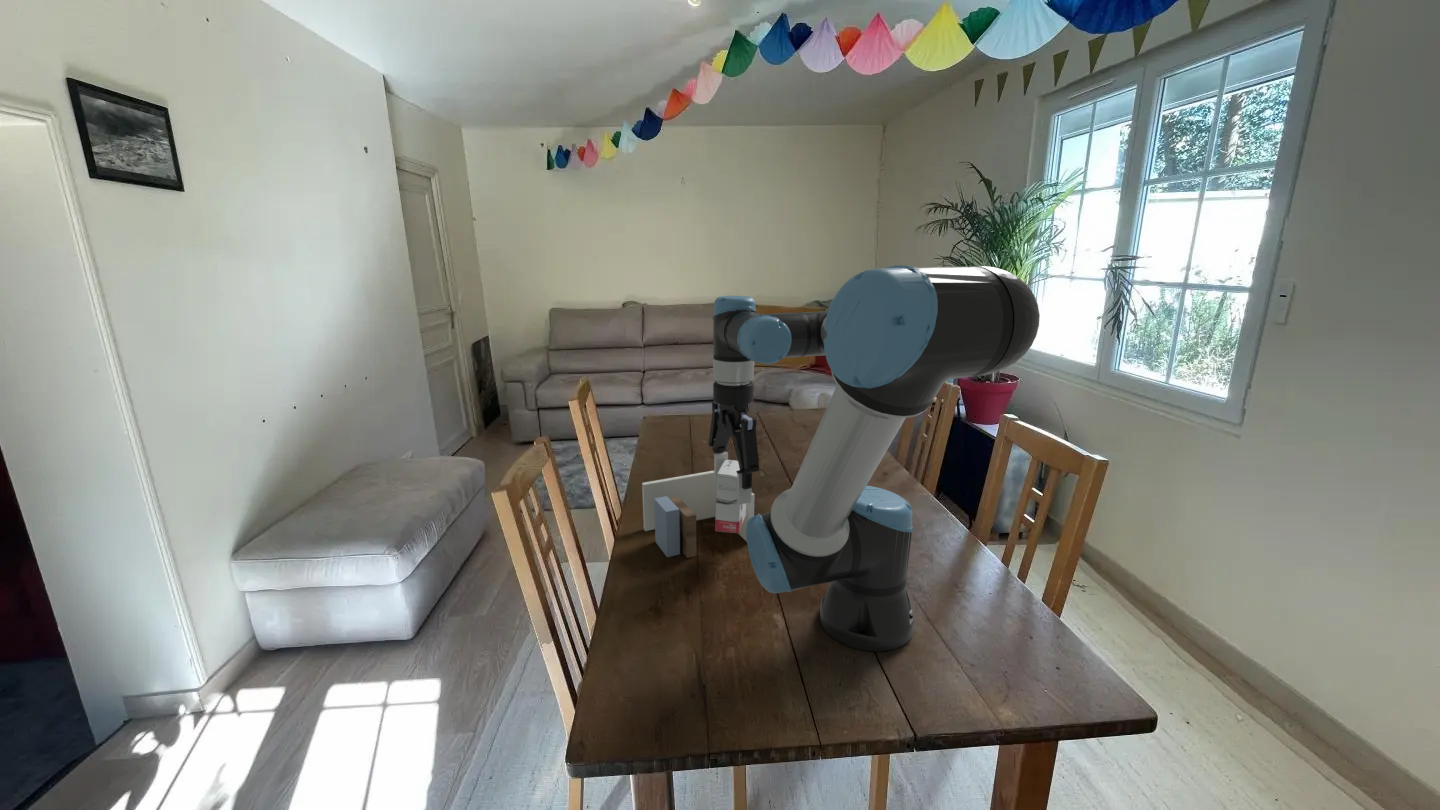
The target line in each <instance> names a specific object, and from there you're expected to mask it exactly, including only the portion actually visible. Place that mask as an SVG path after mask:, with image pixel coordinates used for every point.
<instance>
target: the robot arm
mask: <svg viewBox="0 0 1440 810" xmlns="http://www.w3.org/2000/svg"><path fill="white" fill-rule="evenodd" d="M1037 301H1038V300H1037V299H1036V296H1035V294H1034V293H1033V291H1032V289H1031V288H1030V287H1029V286H1028V285H1027V284H1026V282H1025V281H1024V280H1022V279H1021V278H1020V277H1018V276H1017V275H1015V274H1014V273H1011V272H1010V271H1007V270H1004V269H1002V268H998V267H993V266H987V265H986V266H984V265H975V266H974V265H973V266H939V267H938V266H937V267H935V266H934V267H932V266H931V267H930V266H929V267H926V266H925V267H915V266H911V265H901V264H900V265H896V264H895V265H891V266H887V267H884V268H872V269H867V270H865V271H864V270H863V271H861V272H858V273H857V274H854V275H853V276H852V277H850V278H849V279H848V280H847V281H846V282H845V283H843V284H842V285H841V287H840V288H839V290H838V291H837V292H836V294H835V296H834V297H833V299H832V300H831V303H830V305H829V308H828V310H824V311H823V310H821V311H805V312H804V311H803V312H800V311H799V312H778V313H777V312H775V313H758V312H757V308H756V301H755V299H754V298H753V296H747V295H722V296H719V297H716V298H715V300H714V302H713V303H714V304H713V313H712V314H713V315H712V320H713V321H712V322H713V323H712V324H713V334H712V336H713V338H712V339H713V341H712V342H713V347H712V348H713V358H712V379H713V380H715V381H714V382H713V386H712V388H713V390H712V393H713V394H712V398H713V402H712V403H711V410H712V411H711V413H712V414H711V420H710V421H711V422H710V428H709V438H708V446H709V447H712V448H711V449H712V453H713V454H714V455H713V456H714V457H713V458H714V459H713V465H714V467H713V471H714V484H715V485H717V475H718V474H717V473H718V471H719V469H720V467H721V466H722V464H723V462H724V461H725V460H729V452H728V451H729V449H730V448H729V447H728V443H729V441H730V437H732V438H733V442H734V443H733V444H734V447H735V453H736V457H737V461H738V463H739V468H740V470H738V471H736V472H737V504H738V505H741V504H746V503H751V494H752V493H753V492H752V491H753V490H752V488H753V487H752V485H753V484H752V483H753V479H752V478H753V473H756V472H759V471H760V462H759V450H758V442H757V441H758V439H757V417H749V413H748V408H747V406H749V404H751V403H752V402H754V398H755V397H754V393H755V391H754V390H755V389H754V387H755V384H754V383H753V380H754V377H755V375H754V373H755V370H754V369H755V367H756V366H755V365H756V363H758V364H764V365H774V364H776V363H778V362H780V361H781V360H782V359H787V358H799V357H800V358H802V357H814V356H816V357H817V356H818V357H819V356H825V357H826V358H825V359H826V363H827V364H828V366H829V368H830V371H831V376H832V379H833V381H834V382H835V388H834V391H833V393H832V395H831V397H830V400H829V401H828V404H827V406H826V409H825V411H824V413H823V416H822V417H821V420H820V423H819V424H818V427H817V429H816V432H815V433H814V436H813V439H812V440H811V443H810V445H809V446H808V450H807V451H806V454H805V456H804V459H803V461H802V464H801V465H800V468H799V470H798V472H797V473H796V477H795V479H794V481H793V484H792V486H791V488H788V489H786V490H784V491H783V492H781V493H779V495H777V496H776V498H775V499H774V501H773V503H772V505H771V507H770V509H769V512H768V513H764V514H761V513H757V515H754V516H753V517H751V518H750V519H749V520H748V522H747V527H746V538H747V541H746V543H747V544H746V545H747V551H748V555H749V560H750V563H751V565H752V568H753V571H754V574H755V576H756V577H757V580H758V582H759V584H760V585H761V586H762V587H763V588H764V590H766V591H767V592H768V593H771V594H780V593H786V592H787V593H792V591H795V590H800V589H805V588H809V587H814V586H819V585H823V584H827V583H828V587H827V591H826V593H824V595H823V597H822V599H821V602H820V608H819V609H820V610H819V612H820V613H819V619H820V623H821V626H822V628H823V629H824V630H825V632H826V633H827V634H829V636H831V637H832V638H833V639H834V640H836V641H837V642H839V643H841V644H844V645H845V646H848V647H851V648H853V649H857V650H861V651H867V652H887V651H892V650H896V649H899V648H901V647H903V646H905V645H906V644H907V643H908V642H910V641H911V638H912V636H913V632H914V624H915V617H914V613H913V610H912V605H911V600H910V597H909V593H908V590H907V579H908V571H909V570H908V568H909V558H910V549H911V542H912V533H913V532H914V527H913V509H912V506H911V504H910V503H909V502H908V501H907V500H906V499H905V498H903V496H901V495H899V494H897V493H895V492H893V491H889V490H887V489H884V488H881V487H877V486H872V485H868V484H869V482H870V480H871V478H872V477H873V475H874V473H875V472H876V470H877V468H878V466H879V465H880V463H881V461H882V459H883V458H884V457H885V455H886V453H887V451H888V449H889V447H890V446H891V444H892V442H893V441H894V439H895V437H896V436H897V434H898V432H899V431H900V429H901V426H902V425H903V423H904V422H905V420H906V419H907V418H908V419H909V418H914V417H916V416H919V415H921V414H923V413H924V412H926V411H927V410H928V409H929V407H930V406H931V404H932V403H933V401H934V399H935V398H936V396H937V395H938V393H939V392H940V390H941V389H942V387H943V385H944V384H945V383H946V382H947V381H948V380H950V379H951V380H952V379H960V378H963V379H964V378H968V377H969V378H970V377H971V378H972V377H979V376H987V375H991V374H994V373H995V374H996V373H997V372H999V371H1000V372H1001V371H1002V370H1003V371H1004V370H1005V369H1008V368H1009V367H1011V366H1012V365H1014V364H1016V363H1017V362H1018V361H1019V360H1020V359H1022V358H1023V357H1024V356H1025V354H1026V353H1028V351H1029V350H1030V349H1031V347H1032V346H1033V343H1034V341H1035V340H1036V338H1037V334H1038V330H1039V327H1040V310H1039V304H1038V302H1037Z"/></svg>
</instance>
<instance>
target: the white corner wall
mask: <svg viewBox="0 0 1440 810" xmlns="http://www.w3.org/2000/svg"><path fill="white" fill-rule="evenodd" d="M641 485H642V486H641V489H642V490H641V492H642V517H643V519H642V521H643V522H642V523H643V530H644V532H649V531H653V530H655V531H654V534H655V535H654V536H655V537H654V539H655V543H656V545H657V546H658V547H659V549H660V550H661V551H662V552H663V554H664V556H666V558H670V557H674V556H678V555H681V550H680V521H679V508H678V507H677V506H676V505H675V504H674V503H673V502H672V501H671V500H670V499H669V498H672V497H677V496H678V497H679V498H680V499H681V500H682V501H683V502H684V503H685V504H686V505H687V506H688V507H689V508H690V509H691V510H692V511H693V512H694V513H695V515H696V522H697V521H701V520H705V519H706V520H707V519H710V518H715V517H716V490H717V485H715V484H714V470H709V471H704V472H697V473H692V474H686V475H679V476H676V477H675V476H674V477H668V478H663V479H657V480H650V481H645V482H642V483H641ZM755 495H756V494H755V493H753V492H752V494H751V503H746V515H745V518H744V520H743V523H742V526H741V529H740V531H739V533H737V534H738V535H739V536H740V537H741V538H742V539H743V540H744V541H745V542H747V538H746V527H747V522H748V520H749V519H750V518H751V517H753V516H755V499H756V498H755Z"/></svg>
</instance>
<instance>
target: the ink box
mask: <svg viewBox="0 0 1440 810" xmlns="http://www.w3.org/2000/svg"><path fill="white" fill-rule="evenodd" d="M738 470H740V468H739V463H738V459H737V460H735V459H728V460H725V461H724V462H723V464H722V466H721V467H720V469H719V471H718V473H717V474H718V475H717V490H716V517H714V520H715V522H714V523H715V525H714V530H715V532H722V533H733V534H738V533H739V531H740V529H741V526H742V523H743V520H744V518H745V515H746V504H741V505H738V504H737V472H736V471H738Z"/></svg>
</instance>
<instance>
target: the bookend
mask: <svg viewBox="0 0 1440 810" xmlns="http://www.w3.org/2000/svg"><path fill="white" fill-rule="evenodd" d="M669 499H670V500H671V501H672V502H673V503H674V504H675V505H676V506H677V507H678V508H679V521H680V552H682V553H683V555H685V557H686V559H690V558H694V557H697V521H696V515H695V513H694V512H693V511H692V510H691V509H690V508H689V507H688V506H687V505H686V504H685V503H684V502H683V501H682V500H681V499H680V498H679V497H678V496H677V497H672V498H669Z"/></svg>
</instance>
